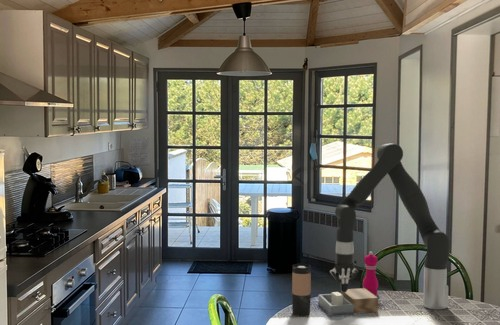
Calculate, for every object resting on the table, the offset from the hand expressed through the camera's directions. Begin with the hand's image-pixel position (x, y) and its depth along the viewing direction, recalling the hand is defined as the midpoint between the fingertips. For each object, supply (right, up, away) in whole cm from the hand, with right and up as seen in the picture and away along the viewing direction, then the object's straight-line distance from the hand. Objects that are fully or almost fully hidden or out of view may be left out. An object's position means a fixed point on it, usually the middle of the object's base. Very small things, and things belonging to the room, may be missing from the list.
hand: (343, 291), depth 238 cm
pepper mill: (+16, -6, +21) cm, 27 cm away
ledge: (+7, -7, +2) cm, 10 cm away
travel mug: (-19, -8, -6) cm, 21 cm away
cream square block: (-1, -4, +1) cm, 4 cm away
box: (-4, -7, 0) cm, 8 cm away
